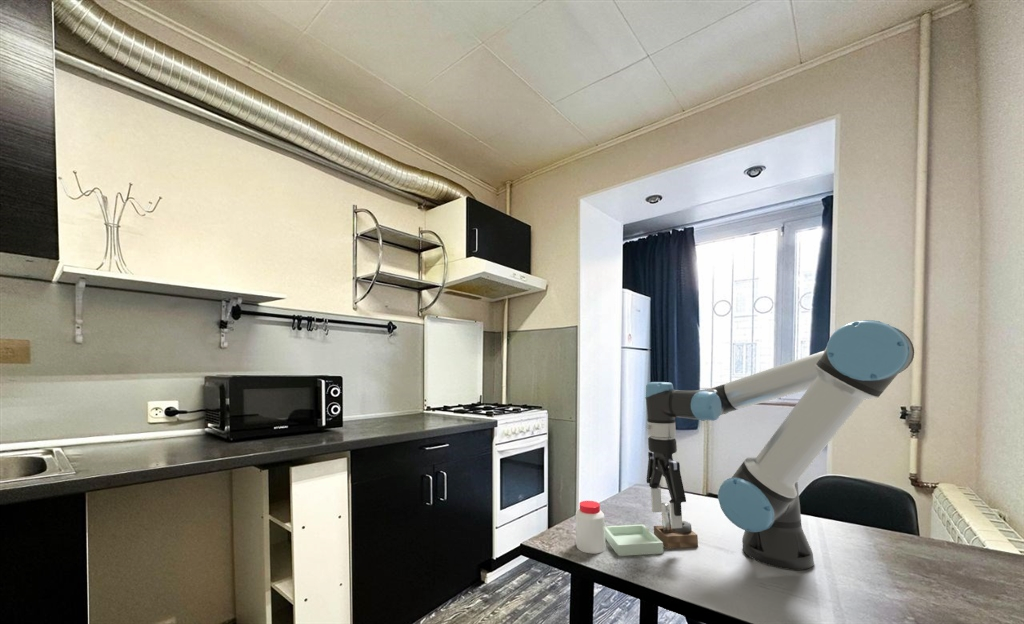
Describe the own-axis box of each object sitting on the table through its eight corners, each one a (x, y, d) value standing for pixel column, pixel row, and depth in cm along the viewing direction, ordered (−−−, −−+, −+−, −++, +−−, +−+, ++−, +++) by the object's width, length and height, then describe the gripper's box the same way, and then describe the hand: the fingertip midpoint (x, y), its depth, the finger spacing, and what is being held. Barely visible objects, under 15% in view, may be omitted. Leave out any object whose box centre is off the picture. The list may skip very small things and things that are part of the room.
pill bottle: (598, 556, 102) (596, 511, 104) (571, 548, 107) (570, 505, 108) (610, 545, 108) (608, 502, 110) (584, 538, 113) (583, 497, 114)
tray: (643, 533, 115) (643, 524, 116) (663, 553, 103) (662, 542, 104) (603, 536, 114) (603, 526, 114) (618, 556, 102) (618, 545, 103)
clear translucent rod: (672, 541, 110) (670, 503, 112) (671, 544, 108) (669, 505, 110) (663, 540, 111) (661, 502, 113) (663, 543, 109) (660, 504, 111)
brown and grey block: (684, 535, 114) (683, 516, 115) (698, 546, 107) (696, 526, 108) (654, 537, 113) (653, 517, 114) (666, 548, 106) (664, 527, 107)
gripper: (632, 430, 125) (636, 505, 122) (669, 445, 102) (674, 538, 99) (655, 430, 125) (659, 504, 122) (697, 445, 102) (703, 536, 100)
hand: (666, 519), depth 111 cm, fingers open, 11 cm apart
